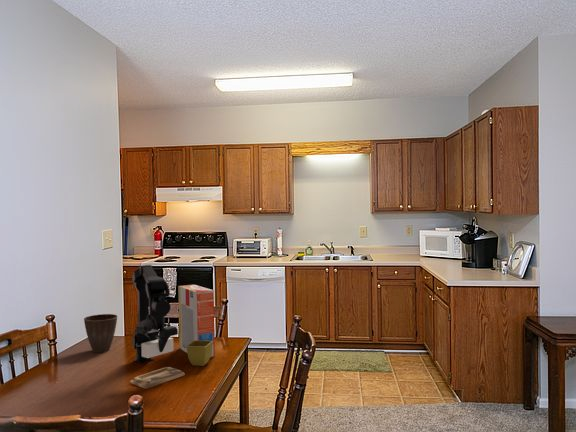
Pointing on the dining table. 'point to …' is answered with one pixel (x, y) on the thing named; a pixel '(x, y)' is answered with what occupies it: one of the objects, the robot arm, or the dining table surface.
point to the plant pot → (100, 331)
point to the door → (156, 348)
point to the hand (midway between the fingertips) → (157, 351)
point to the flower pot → (199, 352)
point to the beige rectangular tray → (156, 377)
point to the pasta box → (196, 315)
